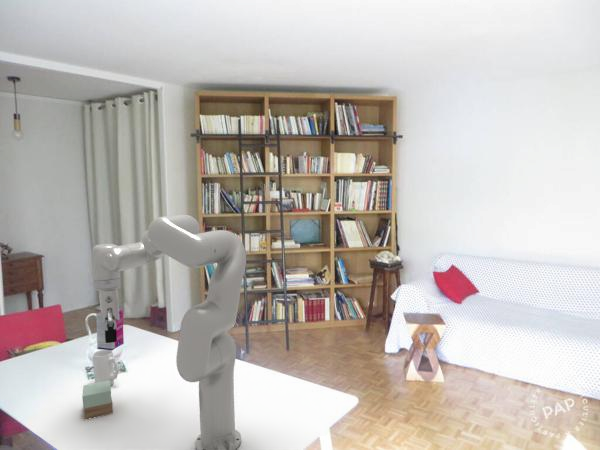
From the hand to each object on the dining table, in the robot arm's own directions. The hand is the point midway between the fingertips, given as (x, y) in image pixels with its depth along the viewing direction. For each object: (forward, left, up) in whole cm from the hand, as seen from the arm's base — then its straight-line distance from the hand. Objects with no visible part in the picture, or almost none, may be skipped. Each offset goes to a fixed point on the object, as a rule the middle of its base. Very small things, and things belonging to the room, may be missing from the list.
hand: (110, 337), depth 138 cm
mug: (+20, +1, -25) cm, 32 cm away
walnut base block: (+3, +5, -25) cm, 25 cm away
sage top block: (+2, +5, -21) cm, 21 cm away
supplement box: (0, 0, -3) cm, 3 cm away
